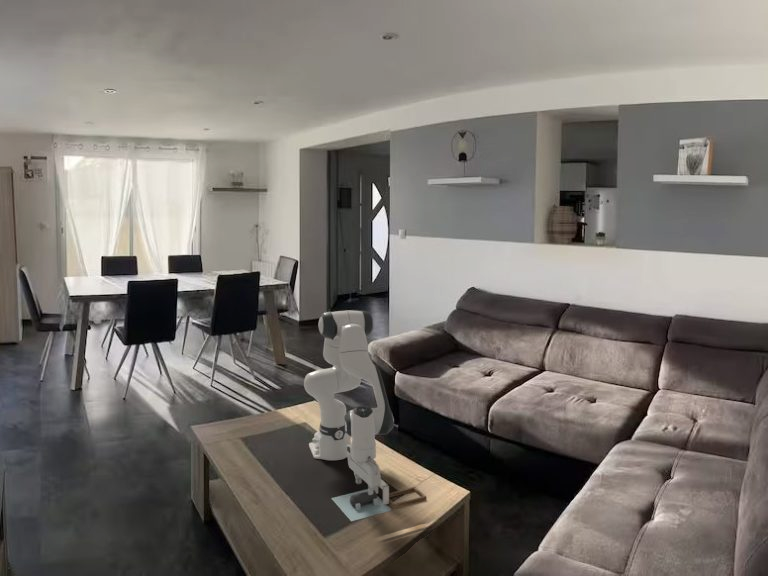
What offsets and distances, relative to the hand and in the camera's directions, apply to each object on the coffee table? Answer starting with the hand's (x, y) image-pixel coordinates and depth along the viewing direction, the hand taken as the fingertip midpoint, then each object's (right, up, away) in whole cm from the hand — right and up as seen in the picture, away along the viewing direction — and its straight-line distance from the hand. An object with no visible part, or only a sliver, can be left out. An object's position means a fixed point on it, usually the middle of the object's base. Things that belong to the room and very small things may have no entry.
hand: (364, 488), depth 215 cm
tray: (+15, -6, +5) cm, 17 cm away
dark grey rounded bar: (0, -6, +1) cm, 6 cm away
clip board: (-1, -7, +1) cm, 7 cm away
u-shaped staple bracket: (+6, -5, +4) cm, 9 cm away
